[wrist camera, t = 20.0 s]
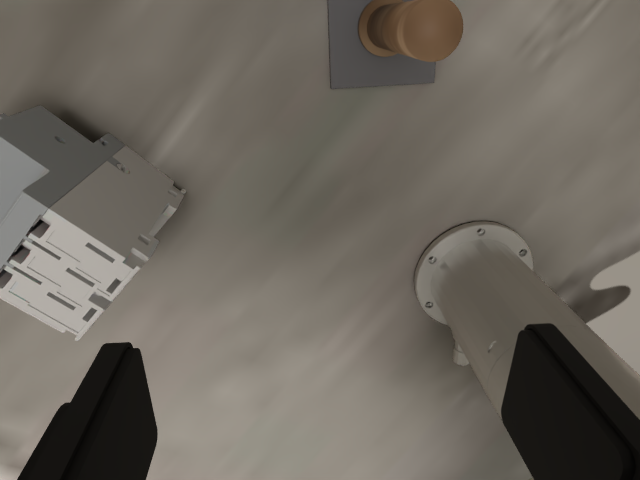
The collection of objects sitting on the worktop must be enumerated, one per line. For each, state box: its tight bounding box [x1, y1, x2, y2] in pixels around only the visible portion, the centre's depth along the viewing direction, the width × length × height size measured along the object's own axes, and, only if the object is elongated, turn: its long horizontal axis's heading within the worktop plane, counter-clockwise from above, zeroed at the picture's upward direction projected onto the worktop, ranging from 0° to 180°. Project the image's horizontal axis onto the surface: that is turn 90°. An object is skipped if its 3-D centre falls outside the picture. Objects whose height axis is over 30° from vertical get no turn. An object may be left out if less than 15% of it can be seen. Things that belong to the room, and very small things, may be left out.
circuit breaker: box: [0, 105, 186, 341], centre depth 34 cm, size 8×14×15 cm, turn 47°
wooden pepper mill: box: [358, 0, 463, 62], centre depth 31 cm, size 4×4×14 cm
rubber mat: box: [328, 0, 435, 89], centre depth 38 cm, size 9×9×1 cm
